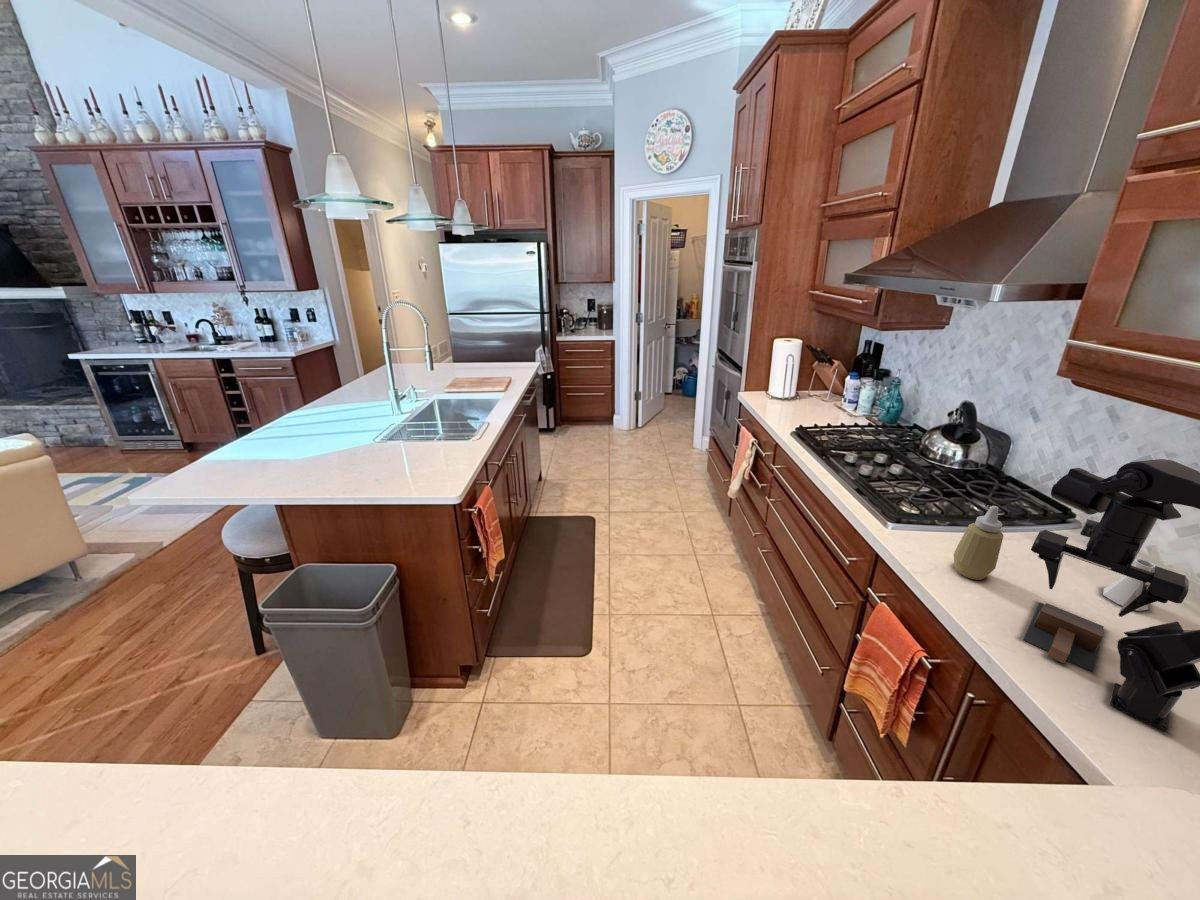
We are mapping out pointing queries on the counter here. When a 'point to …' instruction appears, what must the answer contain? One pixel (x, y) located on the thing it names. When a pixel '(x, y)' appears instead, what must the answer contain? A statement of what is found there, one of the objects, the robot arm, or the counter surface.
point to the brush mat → (1044, 642)
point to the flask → (1127, 585)
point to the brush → (1068, 631)
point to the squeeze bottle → (979, 546)
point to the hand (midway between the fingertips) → (1084, 601)
